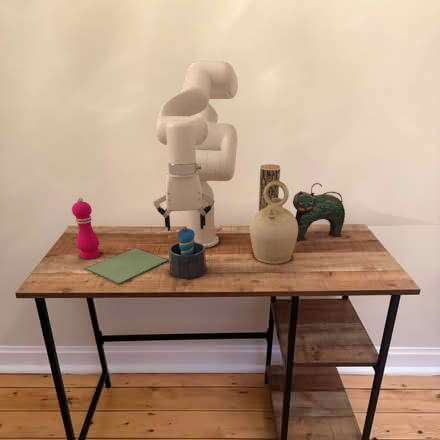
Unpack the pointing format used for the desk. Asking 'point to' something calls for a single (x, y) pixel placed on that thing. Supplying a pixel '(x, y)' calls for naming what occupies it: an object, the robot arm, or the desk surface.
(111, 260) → the mat
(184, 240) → the ornament
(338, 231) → the ceramic cat
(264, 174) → the wooden log
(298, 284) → the desk surface
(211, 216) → the robot arm
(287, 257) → the jug
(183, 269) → the crock
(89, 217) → the pepper mill
